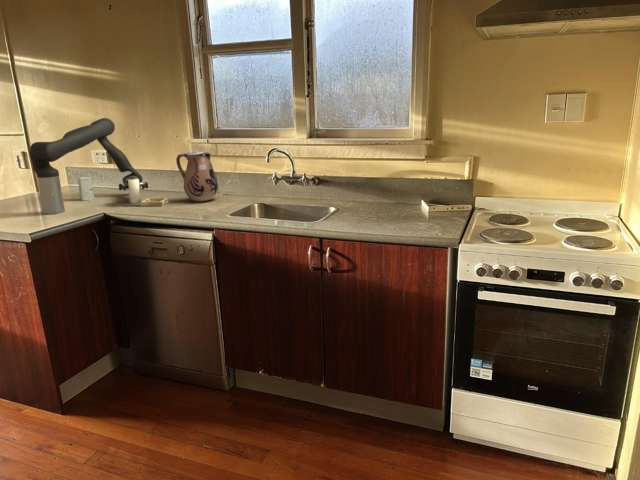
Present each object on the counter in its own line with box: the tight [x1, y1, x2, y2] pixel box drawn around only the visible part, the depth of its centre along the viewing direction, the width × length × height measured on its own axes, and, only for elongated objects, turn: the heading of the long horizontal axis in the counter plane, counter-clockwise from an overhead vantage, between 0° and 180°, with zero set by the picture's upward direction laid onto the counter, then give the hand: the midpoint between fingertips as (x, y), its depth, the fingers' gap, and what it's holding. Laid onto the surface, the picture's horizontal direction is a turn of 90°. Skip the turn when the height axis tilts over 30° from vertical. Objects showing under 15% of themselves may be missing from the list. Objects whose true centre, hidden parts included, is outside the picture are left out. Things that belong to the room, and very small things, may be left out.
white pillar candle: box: [128, 179, 142, 204], centre depth 242 cm, size 5×5×12 cm
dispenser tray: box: [139, 197, 170, 208], centre depth 243 cm, size 11×11×2 cm
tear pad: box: [122, 200, 143, 208], centre depth 244 cm, size 10×9×1 cm
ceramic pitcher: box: [175, 151, 219, 202], centre depth 249 cm, size 18×21×25 cm
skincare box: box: [77, 176, 95, 201], centre depth 258 cm, size 6×4×12 cm
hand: (133, 188), depth 240 cm, fingers open, 8 cm apart
